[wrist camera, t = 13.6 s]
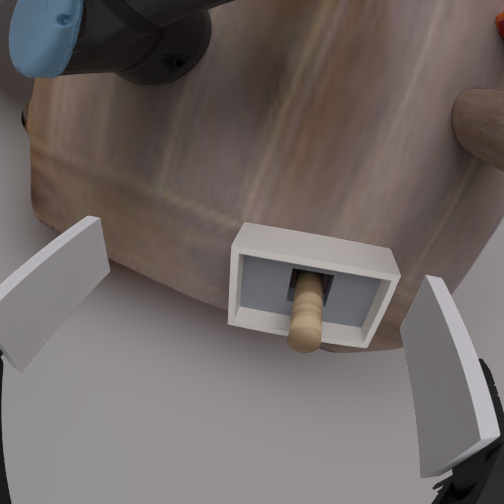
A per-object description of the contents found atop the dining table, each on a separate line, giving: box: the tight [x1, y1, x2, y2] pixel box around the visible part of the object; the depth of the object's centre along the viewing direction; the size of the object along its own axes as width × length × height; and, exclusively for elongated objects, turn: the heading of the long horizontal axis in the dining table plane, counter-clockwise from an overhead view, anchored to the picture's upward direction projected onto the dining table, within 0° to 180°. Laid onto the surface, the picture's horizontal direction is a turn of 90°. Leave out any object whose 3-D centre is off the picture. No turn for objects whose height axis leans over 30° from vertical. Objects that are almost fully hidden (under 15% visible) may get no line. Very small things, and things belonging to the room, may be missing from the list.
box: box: [228, 222, 401, 348], centre depth 41 cm, size 22×14×7 cm, turn 85°
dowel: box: [287, 269, 323, 353], centre depth 38 cm, size 4×4×14 cm
